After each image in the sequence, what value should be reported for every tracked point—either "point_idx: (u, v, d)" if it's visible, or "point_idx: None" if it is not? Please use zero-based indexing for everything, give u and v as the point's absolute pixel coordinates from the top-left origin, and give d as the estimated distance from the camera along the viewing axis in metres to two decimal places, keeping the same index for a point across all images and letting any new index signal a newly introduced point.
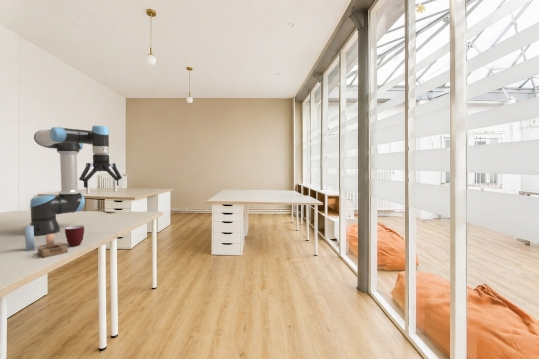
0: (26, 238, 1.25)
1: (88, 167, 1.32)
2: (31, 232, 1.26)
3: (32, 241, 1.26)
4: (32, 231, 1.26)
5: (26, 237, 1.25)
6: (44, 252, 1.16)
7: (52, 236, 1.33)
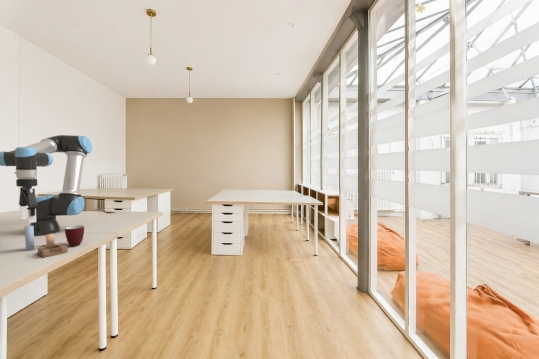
0: (26, 238, 1.25)
1: (20, 192, 1.27)
2: (31, 232, 1.26)
3: (32, 241, 1.26)
4: (32, 231, 1.26)
5: (26, 237, 1.25)
6: (44, 252, 1.16)
7: (52, 236, 1.33)
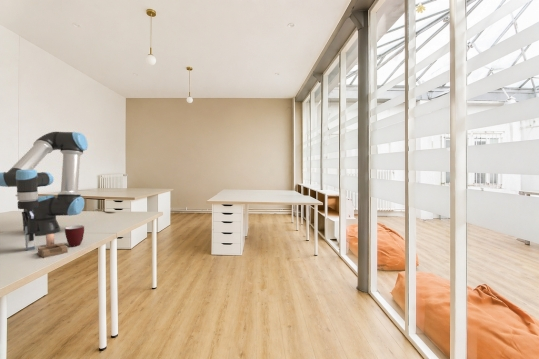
0: (26, 238, 1.25)
1: (22, 216, 1.28)
2: None
3: None
4: None
5: (26, 237, 1.25)
6: (44, 252, 1.16)
7: (52, 236, 1.33)
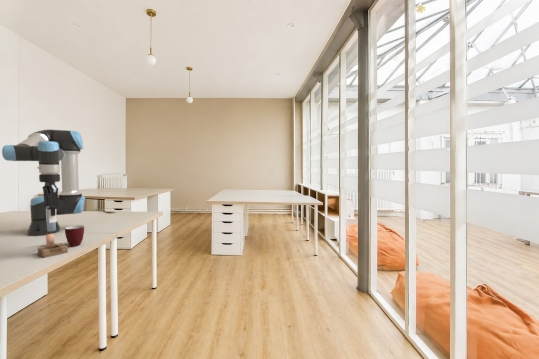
0: (48, 218, 1.20)
1: (43, 191, 1.22)
2: None
3: None
4: None
5: (48, 217, 1.20)
6: (44, 252, 1.16)
7: (52, 236, 1.33)
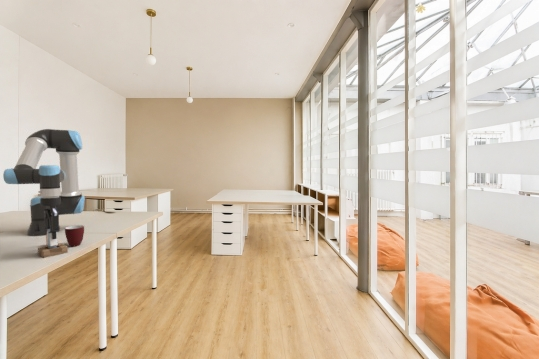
0: (49, 241, 1.20)
1: (44, 214, 1.23)
2: None
3: None
4: None
5: (49, 240, 1.20)
6: (44, 252, 1.16)
7: None
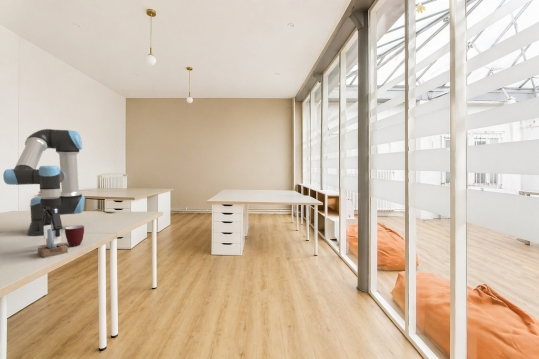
0: (49, 241, 1.20)
1: (43, 211, 1.24)
2: None
3: (55, 244, 1.22)
4: None
5: (49, 240, 1.20)
6: (44, 252, 1.16)
7: None
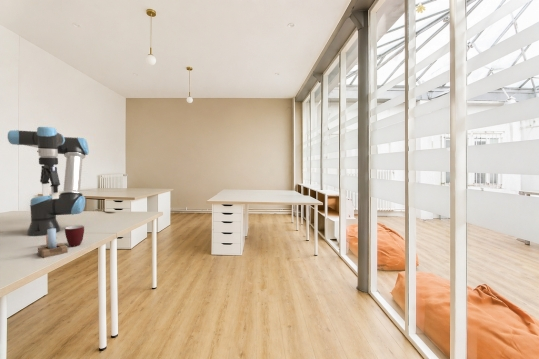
0: (49, 241, 1.20)
1: (41, 170, 1.33)
2: (54, 235, 1.21)
3: (55, 244, 1.22)
4: (55, 234, 1.22)
5: (49, 240, 1.20)
6: (44, 252, 1.16)
7: None
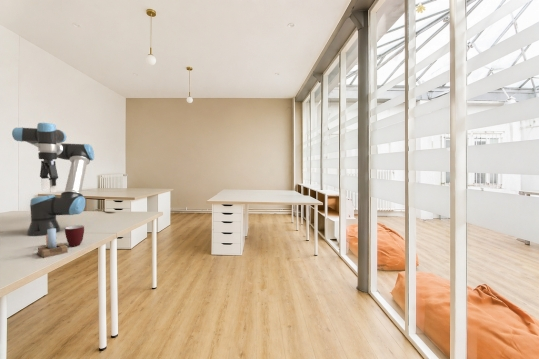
0: (49, 241, 1.20)
1: (41, 165, 1.38)
2: (54, 235, 1.21)
3: (55, 244, 1.22)
4: (55, 234, 1.22)
5: (49, 240, 1.20)
6: (44, 252, 1.16)
7: None
